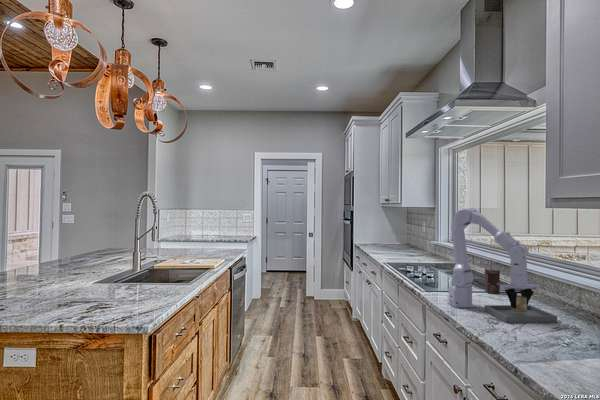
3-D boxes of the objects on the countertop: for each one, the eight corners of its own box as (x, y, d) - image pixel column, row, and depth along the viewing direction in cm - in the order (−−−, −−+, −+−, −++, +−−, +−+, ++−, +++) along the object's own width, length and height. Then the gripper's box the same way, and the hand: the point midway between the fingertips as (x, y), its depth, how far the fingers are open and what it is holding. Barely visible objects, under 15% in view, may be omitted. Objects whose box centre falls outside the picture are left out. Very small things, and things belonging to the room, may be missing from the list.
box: (488, 293, 189) (488, 270, 189) (484, 291, 194) (484, 268, 194) (500, 293, 189) (500, 270, 189) (496, 291, 193) (496, 268, 194)
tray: (505, 323, 142) (505, 316, 142) (484, 311, 158) (484, 305, 158) (557, 322, 142) (557, 316, 142) (530, 310, 158) (530, 305, 158)
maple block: (516, 312, 148) (516, 297, 148) (511, 309, 152) (510, 295, 152) (526, 312, 148) (526, 297, 149) (520, 309, 152) (520, 295, 153)
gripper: (506, 276, 146) (506, 310, 146) (542, 275, 147) (543, 310, 146) (496, 272, 153) (497, 305, 153) (531, 272, 154) (531, 305, 153)
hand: (518, 307), depth 150 cm, fingers closed on maple block, 4 cm apart
